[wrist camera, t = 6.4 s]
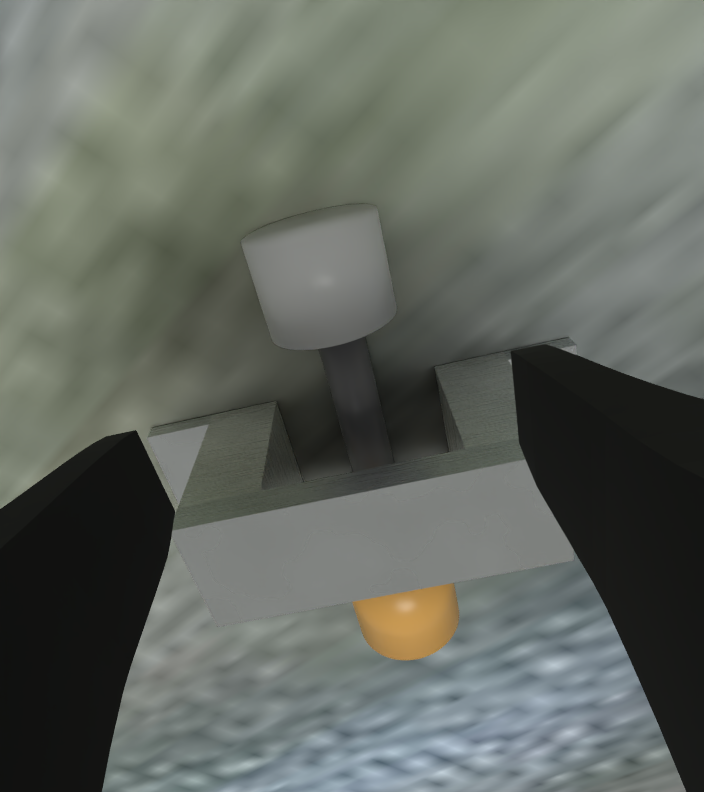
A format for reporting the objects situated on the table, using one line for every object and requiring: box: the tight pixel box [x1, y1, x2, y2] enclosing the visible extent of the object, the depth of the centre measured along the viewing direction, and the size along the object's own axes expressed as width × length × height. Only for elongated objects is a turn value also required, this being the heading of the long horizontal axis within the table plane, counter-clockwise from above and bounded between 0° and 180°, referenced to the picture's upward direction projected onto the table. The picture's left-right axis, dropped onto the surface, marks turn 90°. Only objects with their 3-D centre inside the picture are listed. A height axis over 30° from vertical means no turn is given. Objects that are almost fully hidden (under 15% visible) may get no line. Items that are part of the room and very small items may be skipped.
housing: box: [147, 338, 577, 627], centre depth 19 cm, size 4×16×6 cm, turn 103°
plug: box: [241, 204, 459, 660], centre depth 20 cm, size 16×4×4 cm, turn 13°
